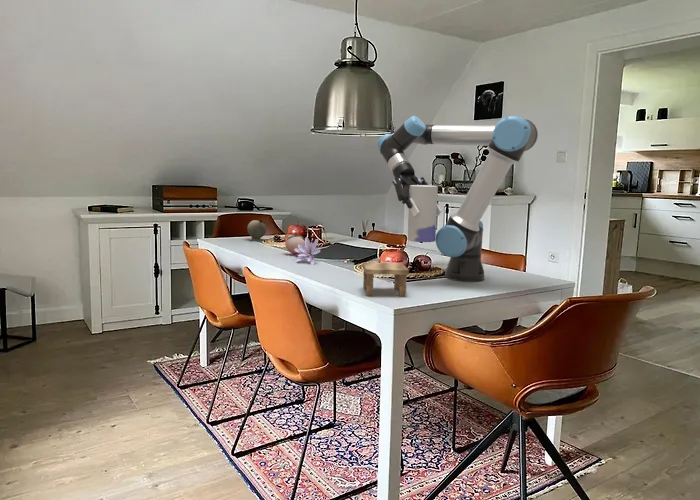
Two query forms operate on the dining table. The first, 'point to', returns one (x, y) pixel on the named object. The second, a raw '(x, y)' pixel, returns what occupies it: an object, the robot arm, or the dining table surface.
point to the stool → (385, 268)
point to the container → (423, 213)
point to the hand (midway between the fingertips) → (428, 214)
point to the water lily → (307, 251)
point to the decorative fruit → (293, 243)
